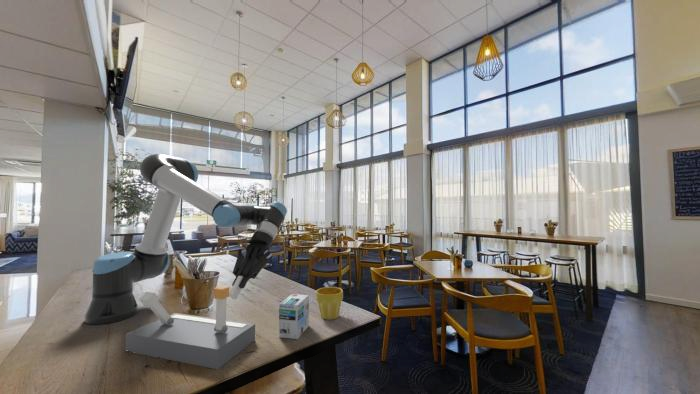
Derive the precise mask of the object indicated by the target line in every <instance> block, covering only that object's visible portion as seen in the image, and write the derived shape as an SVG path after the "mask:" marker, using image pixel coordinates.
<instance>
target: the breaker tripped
mask: <svg viewBox="0 0 700 394" xmlns="http://www.w3.org/2000/svg"><path fill="white" fill-rule="evenodd" d="M229 292H230V286H224V285H219V286H217V287H214V288H213V299H215V300H216V301H215V305H216V307H215V308H216V309H215V318H216V326H215V327H214V331H216V332H223V333H225V332H226V331H227V329H228V327H227V326H226V320H227V298H229V297H230V296H229Z"/></svg>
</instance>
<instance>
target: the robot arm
mask: <svg viewBox="0 0 700 394" xmlns="http://www.w3.org/2000/svg"><path fill="white" fill-rule="evenodd" d="M139 172H140V174H141V176H142V178H143V179H144V180H145V182H147V183H150V184H151V185H153V187H156V188H157V190H158V191H157V193H156V197H155V200H154V203H153V206H152V209H151V212H150V215H149V218H148V221H147V224H146V226H145V231H144V234H143V237H142V239H141V242H140V243H138V244H137V245H135V247H134V250H133V252H132V251H117V252H112V253H107V254H104V255H101V256H99V257H97V258H96V259H95V260H94V262H93V267H92V272H91V273H92V295H91V301H90V304H89V306H88V307H87V311H86V313H85V315H84V323H85V322H86V323H85V324H86V325H87V324H88V325H105V324H111V323H116V322H119V321H123V320H126V319H129V318H131V317H133V316H135V315H136V314H138V311H139V310H138V309H139V307H138V303H137V300H136V298H135V295H134V293H133V292H134V291H133V289H134V283H137V282H142V281H145V280H149V279H154V278H156V277H159V276H161V275H162V274H164V273H165V272H166V271H167V270H168V269H169V266H170V264H171V258H170V254H169V253H168V252H169V250H168V248H167V247H166V244H167V241H168V238H169V234H170V231H171V228H172V227H173V222H174V220H175V217H176V214H177V211H178V207H179V205H180V202H181V199H182V201H185V202H187V203H188V204H190V205H191V206H193V207H195V208H197V209H198V210H200V211H201V212H203V213H205V214H206V215H208V216H210V217H211V218H212V219H213V222H214V223H215V225H216V226H218V227H220V228H234V227H240V226H247V225H250V226H251V225H253V226H257V227H256V229H255V231H254V233H253V234H252V235H251V238H250V239H249V244H248V245H247V246H246V247H245V249H241V248H240V249H238V251H237V254H238V255H237V257H236V261H235V264H234V267H233V271H232V274H233V275H234V276H235V278H234V280H233V282H232V284H231V285H232V287H231V289H230V290H229V297H230V298H231V299H232V300H237V299H238V297H239V295H240V294H241V291H242V290H243V289H245V287H246V285H247V283H248V281H250V279H251V280H255V279H256V278H257V276H258V275H259V274H260V272H261V270H262V269H263V268H264V267H265V265H266V264H267V262H268V261H270V260H271V259H272V258H273V255H272V253H271V251H270V249H271V247H272V246H273V243H274V240H275V238H276V237H277V234H278V232H279V230H280V228H281V226H282V224H283V222H284V221H285V218H286V216H287V213H288V209H287V207H286V206H285V205H284V204H283V203H282V202H279V201H274V202H271V203H270V204H269V205H268V206H257V205H250V204H237V205H236V204H234V203H232V202H230V201H229V200H227V199H225V198H223V197H222V196H220V195H218V194H216V193H215V192H213V191H211V190H210V189H208V188H206V187H205V186H204V185H202V184H199V183H197V181H198V179H199V170H198V169H197V166H196V164H195V163H194V162H192V161H190V160H188V159H185V158H181V157H177V156H171V155H166V154H161V153H156V154H151V155H148V156H146V157H145V158H143V160H142V161H141V163H140V166H139Z"/></svg>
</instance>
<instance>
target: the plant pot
mask: <svg viewBox="0 0 700 394" xmlns="http://www.w3.org/2000/svg"><path fill="white" fill-rule="evenodd" d="M343 299H344V290H343V289H342V288H341V287H336V286H326V287H320V288H318V289H316V290H315V301H316V302H317V303H318V309H319V313H320V316H321V317H320V318H321V319H323V320H335V319H337V318H338V317H339V316H340V309H341V305H342V304H341V303H342V301H343Z"/></svg>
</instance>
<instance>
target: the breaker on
mask: <svg viewBox="0 0 700 394" xmlns="http://www.w3.org/2000/svg"><path fill="white" fill-rule="evenodd" d="M138 301H139V302H141V304H143V306H146V307H148V308H149V309H150V310H151V311H152V312H153V313H154V315H155V316H156V317H157V318H158V320H159V319H160V320H161V323H164V324H172V323H173V322H174V319H173V318H171V316H170V315H171V314H169V313H168V311H167V310H166V309H165V308H164V306H163V305H162V304H161V303H160V298H159V296H158V295H157V294H156V292H152V291H151V292H149V291H146V292H145V293H144V294H143V295H142V296H140V298H139V299H138Z"/></svg>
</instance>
